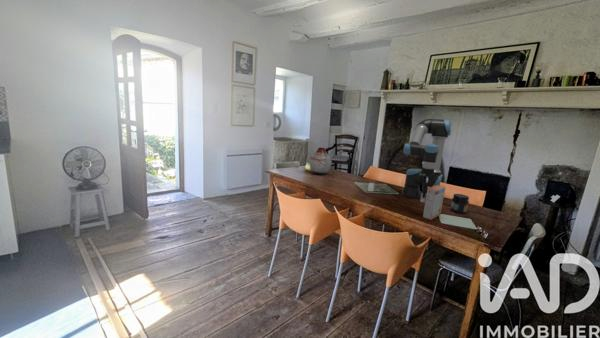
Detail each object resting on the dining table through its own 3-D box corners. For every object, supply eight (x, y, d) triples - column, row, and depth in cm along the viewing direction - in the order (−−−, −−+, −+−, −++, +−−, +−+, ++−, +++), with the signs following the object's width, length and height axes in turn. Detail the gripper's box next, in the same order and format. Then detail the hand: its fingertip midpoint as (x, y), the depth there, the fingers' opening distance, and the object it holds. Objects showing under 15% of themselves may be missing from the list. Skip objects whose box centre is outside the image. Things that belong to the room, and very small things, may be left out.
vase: (319, 170, 297) (321, 146, 291) (335, 175, 280) (337, 149, 274) (304, 172, 282) (305, 146, 276) (319, 177, 265) (321, 150, 259)
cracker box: (431, 212, 184) (437, 184, 179) (440, 215, 180) (446, 186, 174) (421, 217, 176) (427, 187, 170) (430, 220, 171) (436, 190, 166)
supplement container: (469, 212, 190) (472, 197, 187) (461, 214, 185) (464, 198, 182) (455, 207, 199) (458, 192, 196) (446, 209, 194) (449, 194, 191)
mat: (437, 213, 184) (437, 213, 184) (470, 219, 177) (470, 219, 177) (441, 223, 168) (441, 222, 168) (477, 229, 161) (477, 229, 161)
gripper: (421, 165, 180) (416, 198, 185) (422, 168, 168) (416, 203, 173) (433, 167, 177) (427, 200, 183) (435, 170, 166) (429, 205, 171)
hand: (422, 201), depth 178 cm, fingers closed
